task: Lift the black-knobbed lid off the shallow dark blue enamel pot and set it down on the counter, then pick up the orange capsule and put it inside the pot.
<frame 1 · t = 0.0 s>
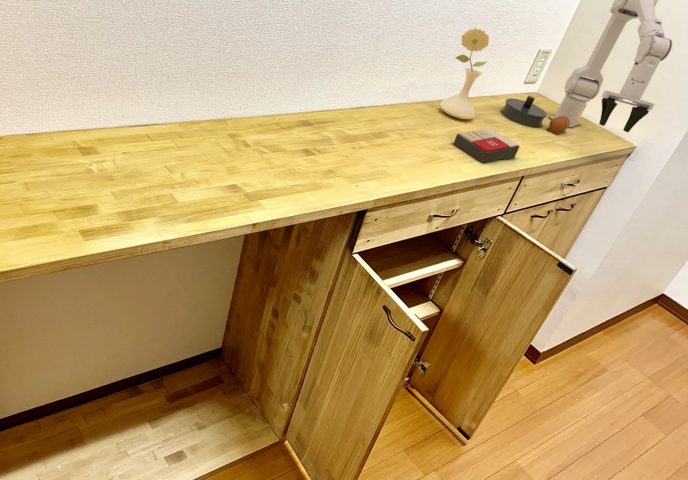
hand: (613, 128, 168), 11 cm above the counter, tool pointing down, fingers open, 7 cm apart
flower in vase: (452, 114, 178), on the counter
orange capsule: (555, 130, 189), on the counter
pot: (520, 118, 191), on the counter
pot lid: (525, 108, 189), point 3 cm above the counter, touching pot
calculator: (483, 151, 158), on the counter
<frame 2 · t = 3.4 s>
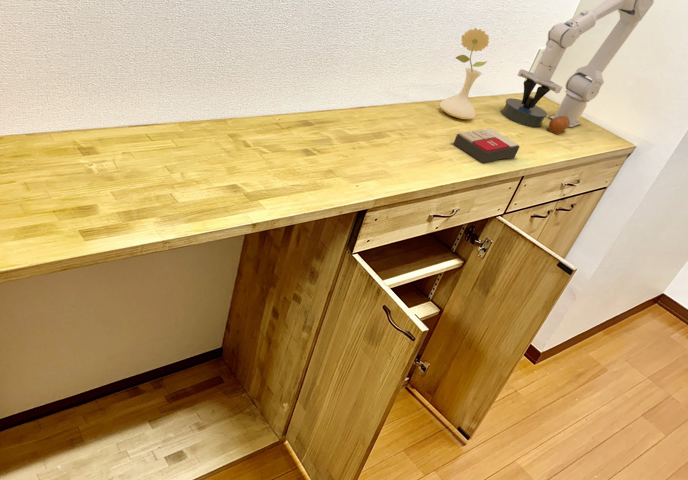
hand: (527, 105, 188), 5 cm above the counter, tool pointing down, fingers closed on pot lid, 2 cm apart
pot lid: (525, 108, 189), point 3 cm above the counter, touching gripper, pot
everything else where it was.
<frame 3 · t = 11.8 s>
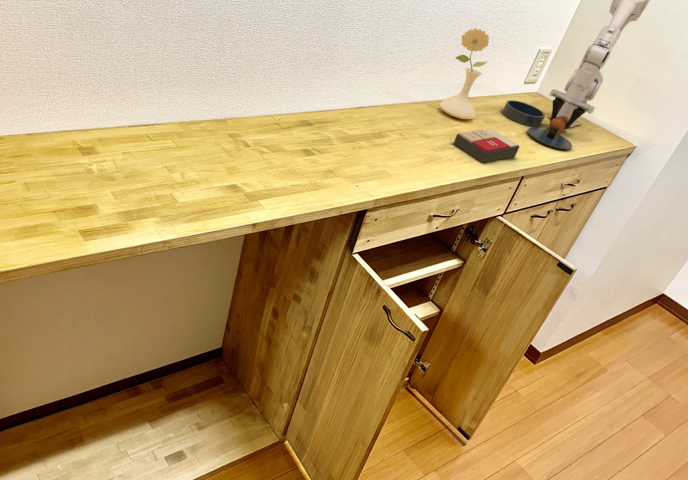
hand: (558, 125, 188), 2 cm above the counter, tool pointing down, fingers closed on orange capsule, 5 cm apart
orange capsule: (555, 130, 189), on the counter, touching gripper
pot lid: (549, 138, 178), point 1 cm above the counter
everything else where it was.
when the fingers open (2 cm above the counter, at t = 16.9 s): orange capsule stays where it is, resting on pot.
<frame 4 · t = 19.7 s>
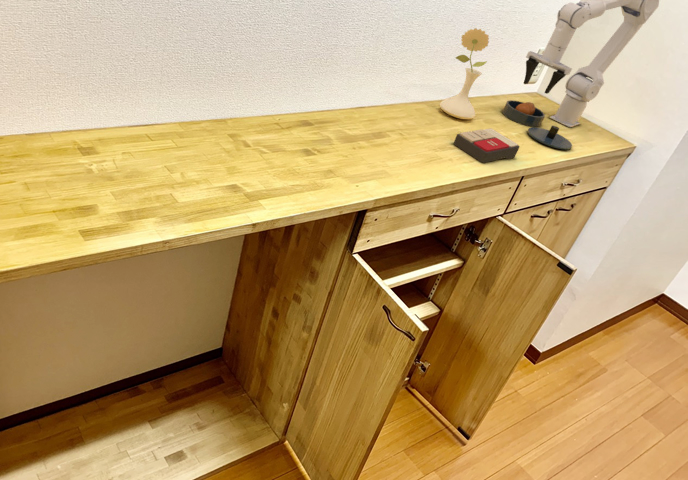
hand: (535, 88, 185), 10 cm above the counter, tool pointing down, fingers open, 7 cm apart
orange capsule: (521, 117, 191), resting on pot
everything else where it was.
at the end: pot lid inside the target area (0.1 cm from its centre), point 0.6 cm above the counter; orange capsule 0.0 cm off-centre in the pot, point 0.4 cm above the pot's base; the gripper is holding nothing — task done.
